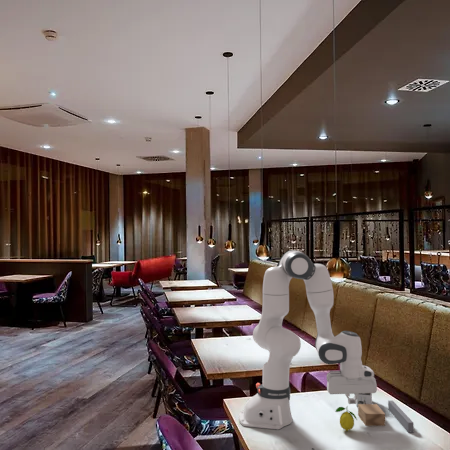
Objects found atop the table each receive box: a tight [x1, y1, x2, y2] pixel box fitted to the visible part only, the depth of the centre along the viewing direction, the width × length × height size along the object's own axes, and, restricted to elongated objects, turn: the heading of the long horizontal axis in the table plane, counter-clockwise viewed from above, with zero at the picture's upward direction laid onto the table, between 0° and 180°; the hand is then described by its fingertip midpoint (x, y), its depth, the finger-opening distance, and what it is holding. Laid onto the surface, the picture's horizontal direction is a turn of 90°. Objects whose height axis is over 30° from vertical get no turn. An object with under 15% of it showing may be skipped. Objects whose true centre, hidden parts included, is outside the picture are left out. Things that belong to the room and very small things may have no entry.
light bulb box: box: [356, 393, 373, 408], centre depth 203 cm, size 11×7×11 cm, turn 168°
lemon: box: [334, 406, 358, 432], centre depth 176 cm, size 7×6×10 cm
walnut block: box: [357, 403, 386, 427], centre depth 185 cm, size 8×10×5 cm
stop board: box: [387, 400, 414, 434], centre depth 185 cm, size 2×22×4 cm, turn 179°
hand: (352, 403), depth 186 cm, fingers closed
